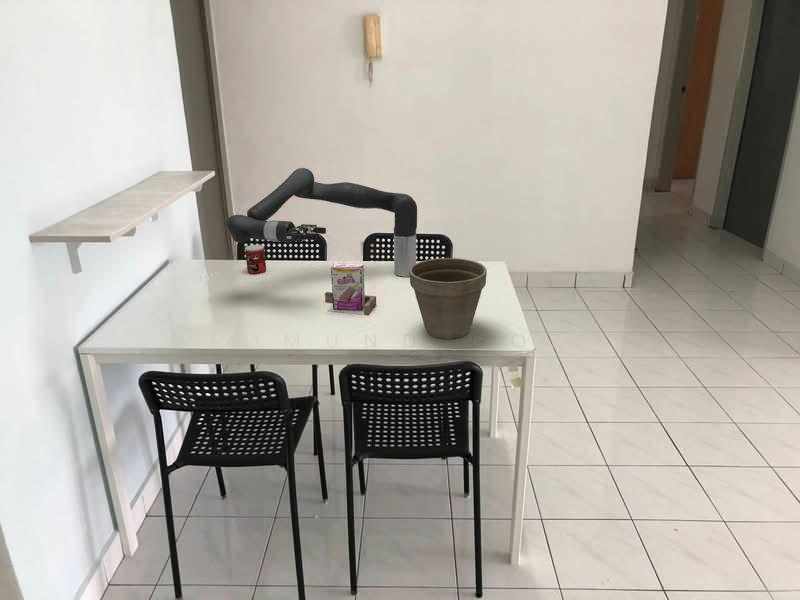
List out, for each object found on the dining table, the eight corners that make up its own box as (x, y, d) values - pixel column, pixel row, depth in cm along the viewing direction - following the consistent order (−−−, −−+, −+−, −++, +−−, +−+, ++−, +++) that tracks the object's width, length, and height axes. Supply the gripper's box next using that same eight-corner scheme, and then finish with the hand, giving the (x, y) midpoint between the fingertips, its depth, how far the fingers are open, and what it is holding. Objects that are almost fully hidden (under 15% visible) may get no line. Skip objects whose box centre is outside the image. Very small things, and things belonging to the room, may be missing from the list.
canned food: (243, 272, 259) (241, 248, 254) (257, 267, 265) (255, 243, 261) (256, 275, 254) (253, 251, 250) (270, 270, 261) (267, 246, 256)
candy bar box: (332, 310, 218) (330, 267, 212) (335, 305, 222) (333, 262, 216) (363, 311, 216) (361, 268, 210) (365, 306, 221) (364, 263, 215)
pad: (335, 302, 225) (335, 302, 225) (371, 306, 221) (371, 305, 221) (327, 311, 218) (327, 310, 218) (364, 314, 214) (364, 314, 214)
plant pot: (394, 332, 200) (393, 270, 192) (439, 309, 217) (440, 252, 209) (455, 353, 185) (456, 287, 177) (498, 328, 202) (501, 266, 194)
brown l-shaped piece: (326, 300, 227) (326, 291, 226) (376, 305, 222) (375, 296, 221) (317, 310, 219) (316, 301, 217) (368, 315, 214) (367, 305, 213)
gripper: (269, 226, 210) (312, 228, 206) (287, 216, 223) (328, 218, 219) (271, 246, 213) (314, 249, 209) (288, 236, 226) (329, 238, 222)
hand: (321, 233), depth 214 cm, fingers open, 8 cm apart
